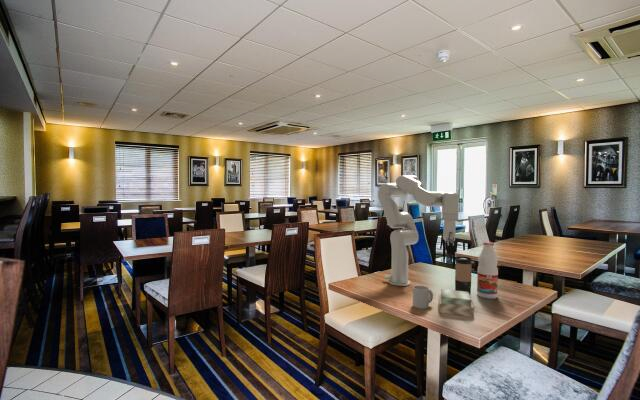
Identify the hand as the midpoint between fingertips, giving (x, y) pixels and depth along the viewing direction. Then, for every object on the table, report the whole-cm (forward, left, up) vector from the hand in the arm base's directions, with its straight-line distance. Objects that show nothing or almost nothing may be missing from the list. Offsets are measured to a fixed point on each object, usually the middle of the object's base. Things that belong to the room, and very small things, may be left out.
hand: (449, 251), depth 161 cm
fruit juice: (+19, +14, -25) cm, 34 cm away
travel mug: (+7, +9, -24) cm, 27 cm away
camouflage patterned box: (+2, -12, -24) cm, 27 cm away
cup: (-12, -13, -25) cm, 30 cm away
